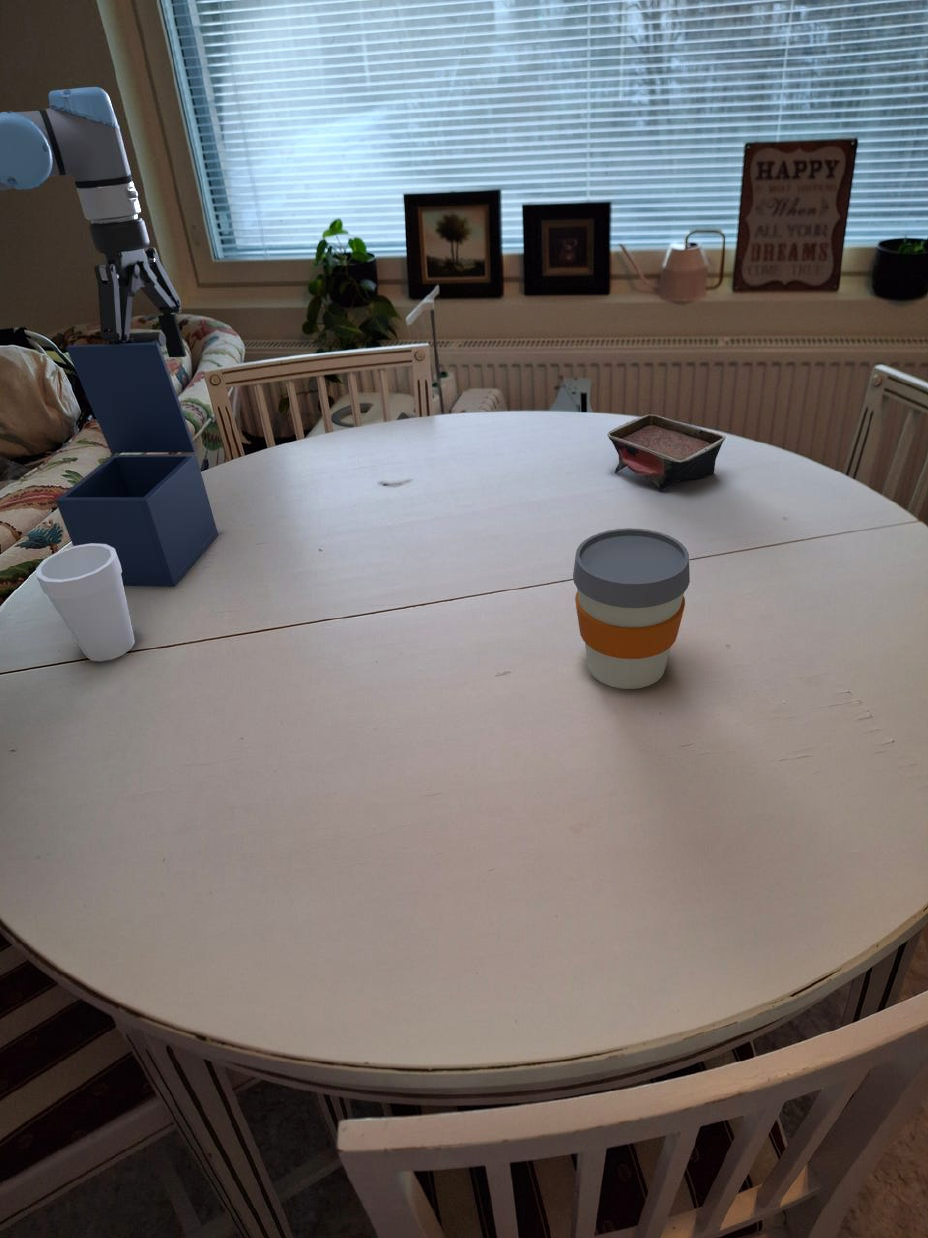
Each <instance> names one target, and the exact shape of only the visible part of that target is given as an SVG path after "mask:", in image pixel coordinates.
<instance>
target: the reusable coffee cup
mask: <svg viewBox="0 0 928 1238" xmlns="http://www.w3.org/2000/svg"><path fill="white" fill-rule="evenodd" d="M574 557H575V558H574V565H573V571H572V572H573V573H572V581H573V583H574V585H575V587H576V589H577V591H576V593H575V596H574V603H575V608H576V616H577V621H578V628H579V634H580V635H579V636H580V637H581V640H582V641H583V642H584V645H585V654H586V659H587V666H588V670H589V672H590V674H591V675H592V676H593V677H594V679H596V680H597V681H598V682H600V683H602V684H603V685H606V686H608V687H612V688H615V689H622V690H636V689H642V688H645V687H649V686H651V685H653V684H656V683H657V682H658V681H660V680H661V678H662V677H663V675H664V674H665V671H666V667H667V663H668V660H669V659H668V658H669V655H670V651H671V647H672V646H673V645H674V643H675V642H676V641H677V637H678V634H679V630H680V627H681V622H682V618H683V614H684V610H685V608H686V607H685V606H686V597H685V595H684V594H685V592H686V591H687V589H688V588H689V585H690V582H691V579H690V576H691V575H690V554H689V551H688V549H687V547H686V546H685V545H684V544H683V543H682V542H680V541H679V540H678V539H676V538H675V537H672V536H670V535H668V534H665V533H662V532H661V531H656V530H651V529H644V528H627V527H626V528H616V529H610V530H605V531H601V532H598V533H596V534H593V535H591V536H589V537H587V538H586V539H584V540H583V541H582V542H580V544H579V545H578V547H577V548H576V551H575V556H574Z"/></svg>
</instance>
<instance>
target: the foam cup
mask: <svg viewBox="0 0 928 1238" xmlns="http://www.w3.org/2000/svg"><path fill="white" fill-rule="evenodd" d="M121 573H122V569H121V565H120V562H119V559H118V556H117V554H116V551H115V548H113V547H111V546H109V545H107V544H95V543H90V544H84V545H78V546H73V545H72V546H70V547H67V548H65V549H62V550H59V551H57V552H55V553H53V554H51V555H50V556H48V557H46V558H45V559H43V560H42V561H41V562H40V564H38V565H37V567H36V568H35V577H36V579H37V581H38V583H39V587H40V588H41V590H42V592H43V594H45V595H46V596H47V597H48V599H49V601H50V603H51V604H52V605H53V607H54V609H55V610H56V612H57V613H58V615H59V616H60V618H61V620H62V621H63V623H64V624H65V626H66V628H67V630H68V631H69V632H70V634H71V635H72V637H73V640H75V642H76V643H77V645H78V647H79V648H80V650H81V651H82V653H83V654H84V655H85V657H86V658H87V659H89V660H90V661H93V662H105V661H111V660H114V659H117V658H119V657H121V656H123V655H125V654H127V653H128V652H129V651H130V650H131V649H133V646H134V645H135V643H136V641H135V635H134V630H133V626H132V621H131V616H130V612H129V611H130V610H129V605H128V601H127V596H126V593H125V587H124V586H125V585H123V582H122V577H121Z"/></svg>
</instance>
